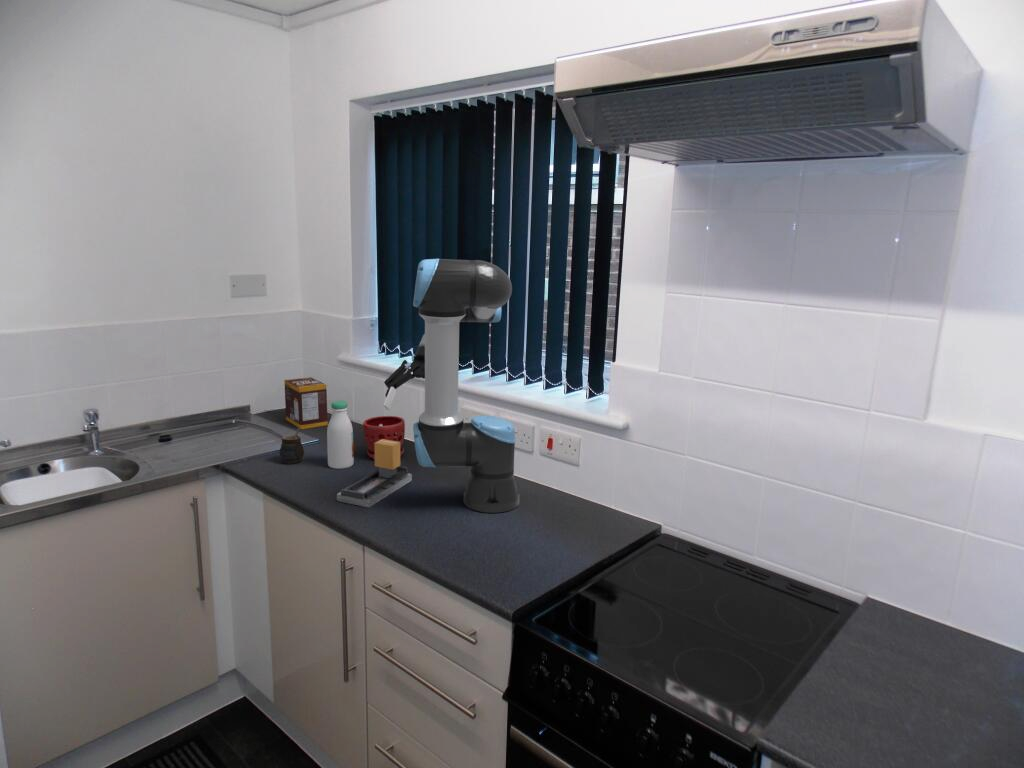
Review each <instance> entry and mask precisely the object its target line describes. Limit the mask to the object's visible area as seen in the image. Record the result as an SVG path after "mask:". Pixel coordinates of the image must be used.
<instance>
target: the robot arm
mask: <svg viewBox="0 0 1024 768" xmlns="http://www.w3.org/2000/svg"><path fill="white" fill-rule="evenodd" d="M512 292H513V285H512V282H511V279H510V277H509V275H508V274H507V273H506V272H505V271H504V270H502V269H501V268H500V267H499V266H498V265H495V264H493V263H492V262H488V261H485V260H481V259H480V260H479V259H475V260H474V259H472V260H471V259H470V260H469V259H448V258H447V259H446V258H430V259H422V260H421V261H420V262H419V263H418V265H417V271H416V279H415V286H414V294H413V302H412V306H413V307H415V308H418V315H419V316H420V317H421V318H422V319H423V320H424V333H423V335H422V338H421V340H420V341H419V344H418V348H417V349H416V352H415V355H414V357H413V358H414V359H413V360H412V362H408V360H406V359H403V361H402V363H401V365H399V367H397V369H395V370H394V372H393V373H392V374H390V375H389V376H388V377H387V378H386V379H385V381H384V382H383V383H384V385H385V386H386V388H387V389H386V392H385V397H386V398H385V400H384V402H383V407H384V408H385V409H386V410H387V411H388V410H390V408H391V406H392V403H393V401H394V398H395V396H396V394H397V389H399V388H400V387H401V386H402V385H404V384H405V383H407V382H408V381H409V380H412V379H414V378H416V379H422V380H423V379H424V411H422V413H421V414H420V415H419V416H418V421H417V422H415V423H413V425H412V426H413V427H412V428H413V429H412V430H413V440H414V441H413V442H414V447H415V448H414V450H415V455H416V460H417V463H418V464H419V466H421V467H425V468H434V469H437V468H457V467H458V468H459V467H466V468H467V467H468V468H469V467H470V475H469V478H468V481H467V484H466V487H465V489H464V492H463V503H464V505H465V506H466V507H467V508H469V510H473V511H477V512H481V513H487V514H488V513H492V514H494V513H498V514H499V513H504V512H509V511H511V510H514V509H516V508H517V507H518V506H519V505H520V491H519V490H518V487H517V482H516V478H515V475H514V474H515V473H514V472H515V448H516V447H515V445H516V441H517V440H516V429H515V426H514V424H513V423H512V422H510V421H509V420H507V419H504V418H502V417H498V416H493V415H487V414H486V415H485V414H484V415H483V414H482V415H475V416H473V417H472V418H471V420H470V422H464V416H463V414H461V412H459V410H458V409H459V408H458V407H459V363H460V361H459V357H460V323H488V324H490V323H499V322H500V321H501V319H502V318H501V317H502V307H503V306H505V305H506V304H507V302H508V301H509V300H510V298H511V296H512Z"/></svg>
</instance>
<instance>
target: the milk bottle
mask: <svg viewBox="0 0 1024 768" xmlns="http://www.w3.org/2000/svg"><path fill="white" fill-rule="evenodd" d="M331 410H332V411H331V417H330V420H328V425H327V428H326V432H327V433H326V441H327V442H326V444H327V449H326V450H327V465H328V467H330V468H332V469H339V470H341V469H348V468H351V467H352V466H353V465H354V461H355V459H354V454H355V453H354V432H353V430H354V429H353V425H352V421H351V420H350V417H349V416H348V413H347V410H348V402H347V401H344V400H335V401H332V402H331Z"/></svg>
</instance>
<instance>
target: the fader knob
mask: <svg viewBox="0 0 1024 768" xmlns="http://www.w3.org/2000/svg"><path fill="white" fill-rule="evenodd" d="M398 466H401V456H400V442H397V441H391V440H385V439H381V440H379V441H377V442H375V459H374V467H375V468H377V467H378V470H379V476H380V477H386V478H390V477H392V476H394V475H395V474H397V467H398Z"/></svg>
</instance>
